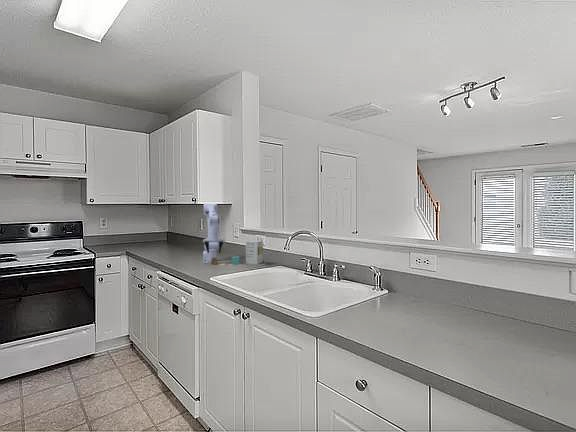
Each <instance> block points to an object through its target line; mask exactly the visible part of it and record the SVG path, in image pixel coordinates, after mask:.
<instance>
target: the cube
mask: <svg viewBox="0 0 576 432" xmlns="http://www.w3.org/2000/svg"><path fill="white" fill-rule="evenodd" d="M231 263H232V265H231V266H240V265H239V263H240V255H238V256H236V255H235V256H231Z"/></svg>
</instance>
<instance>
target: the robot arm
mask: <svg viewBox="0 0 576 432" xmlns="http://www.w3.org/2000/svg"><path fill="white" fill-rule="evenodd" d="M203 215H204V216H205V217H206V221H207V237H206V238H205V239H202V243H203V244H204V250H203V253H202V256H203V257H202V264H208V262H210V263H211V259H212V258H217V259H218V257H217V253H218V254H221V250H222V247H223V245H224V243H226V239H225V238H223V239H222V238H221V239H220V238H219V224H220V216H219V214H218V204H217V203H204V204H203ZM217 251H218V252H217Z"/></svg>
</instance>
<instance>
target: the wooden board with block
mask: <svg viewBox="0 0 576 432" xmlns="http://www.w3.org/2000/svg"><path fill="white" fill-rule="evenodd" d="M217 261H218V257H217V258H212V259H211V262H210V264H211V266H233V265H232V262H225V263H224V262H219V263H218V262H217ZM241 265H242V262H239V265H238V266H241Z"/></svg>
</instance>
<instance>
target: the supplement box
mask: <svg viewBox="0 0 576 432" xmlns="http://www.w3.org/2000/svg"><path fill="white" fill-rule="evenodd" d="M263 249H264V240H246V241H245V264H250V265H259V264H262V263H263V261H264V258H263V257H264V256H263V255H264V253H263V252H264V251H263Z"/></svg>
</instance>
